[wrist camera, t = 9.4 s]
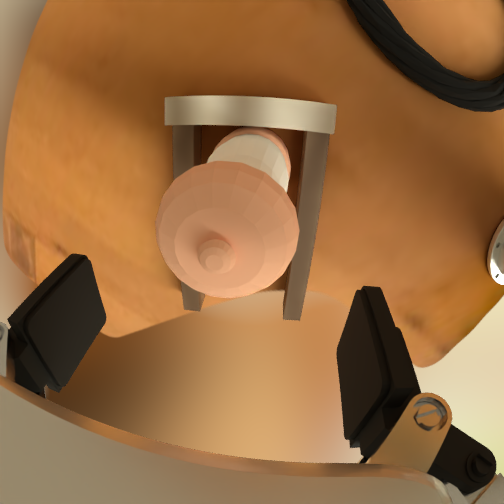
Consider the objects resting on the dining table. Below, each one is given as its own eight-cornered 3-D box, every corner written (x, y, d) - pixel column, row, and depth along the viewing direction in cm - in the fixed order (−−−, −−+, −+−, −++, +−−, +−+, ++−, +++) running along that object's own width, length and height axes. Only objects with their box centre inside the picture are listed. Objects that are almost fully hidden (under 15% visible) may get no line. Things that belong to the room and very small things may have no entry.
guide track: (327, 103, 25) (337, 105, 21) (298, 304, 37) (300, 332, 33) (182, 96, 25) (164, 97, 21) (189, 294, 37) (179, 320, 33)
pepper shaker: (204, 172, 29) (113, 278, 13) (240, 111, 26) (174, 137, 9) (264, 207, 31) (245, 348, 14) (303, 151, 27) (343, 242, 11)
